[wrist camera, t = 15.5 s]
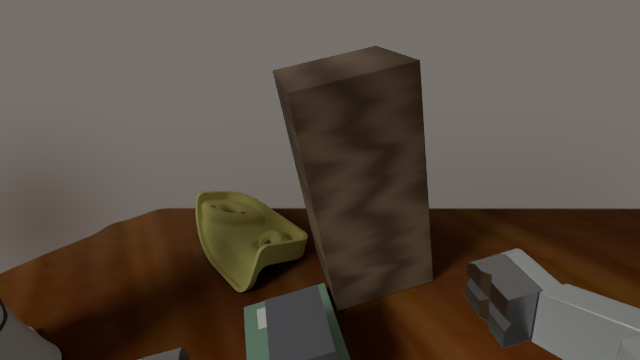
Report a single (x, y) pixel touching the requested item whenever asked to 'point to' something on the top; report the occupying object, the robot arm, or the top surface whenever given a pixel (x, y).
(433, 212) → the top surface
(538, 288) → the robot arm
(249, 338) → the board
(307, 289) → the plug
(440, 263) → the top surface
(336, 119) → the block
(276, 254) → the plastic component
